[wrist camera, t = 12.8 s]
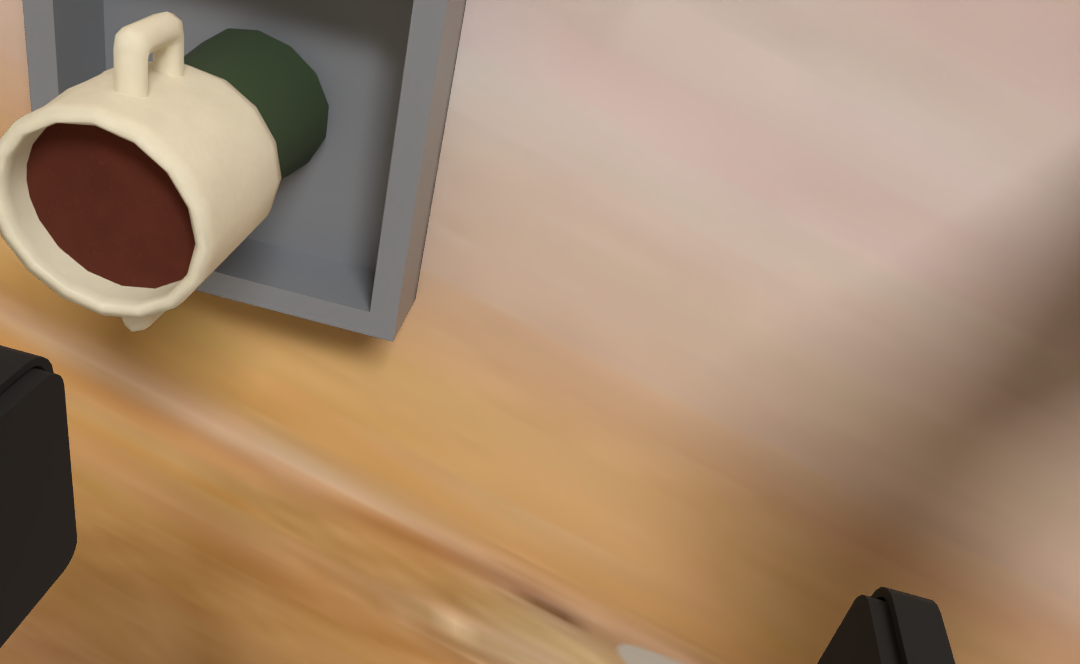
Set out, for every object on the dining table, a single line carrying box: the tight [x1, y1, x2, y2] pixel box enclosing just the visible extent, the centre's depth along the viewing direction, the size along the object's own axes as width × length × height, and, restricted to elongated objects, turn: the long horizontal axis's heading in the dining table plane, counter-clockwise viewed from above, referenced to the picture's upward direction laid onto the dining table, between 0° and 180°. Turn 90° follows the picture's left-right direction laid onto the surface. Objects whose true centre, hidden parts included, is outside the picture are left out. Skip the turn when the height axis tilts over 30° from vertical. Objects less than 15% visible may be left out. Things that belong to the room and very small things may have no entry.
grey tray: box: [23, 0, 466, 342], centre depth 38 cm, size 16×16×4 cm
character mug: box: [0, 12, 329, 332], centre depth 33 cm, size 11×7×13 cm, turn 168°
